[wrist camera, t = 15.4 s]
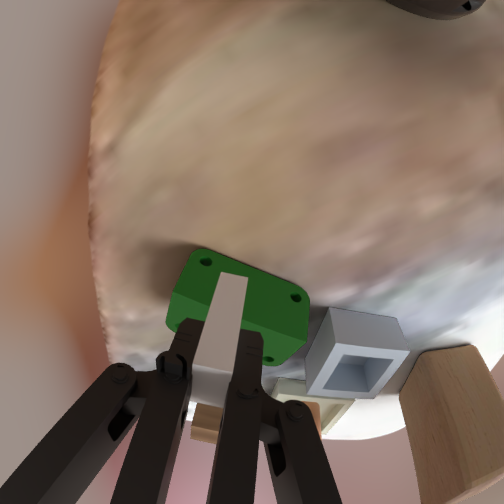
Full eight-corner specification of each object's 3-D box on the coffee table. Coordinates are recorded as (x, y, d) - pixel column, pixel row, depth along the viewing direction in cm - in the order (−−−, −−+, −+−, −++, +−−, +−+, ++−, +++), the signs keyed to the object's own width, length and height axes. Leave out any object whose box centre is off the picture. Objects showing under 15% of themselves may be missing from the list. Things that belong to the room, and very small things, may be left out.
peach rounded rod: (294, 399, 33) (294, 467, 25) (323, 401, 33) (327, 468, 25) (286, 413, 35) (284, 476, 27) (314, 415, 35) (315, 477, 27)
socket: (329, 307, 27) (336, 342, 23) (396, 318, 27) (410, 351, 23) (304, 359, 31) (306, 394, 27) (365, 366, 31) (373, 399, 27)
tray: (278, 377, 33) (278, 393, 31) (352, 385, 33) (355, 400, 31) (261, 414, 38) (260, 428, 35) (324, 421, 38) (325, 434, 36)
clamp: (210, 268, 32) (150, 315, 25) (226, 229, 28) (156, 276, 21) (297, 338, 29) (251, 401, 23) (327, 308, 25) (280, 381, 19)
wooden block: (395, 395, 34) (419, 517, 16) (419, 349, 29) (465, 493, 12) (448, 386, 33) (481, 492, 16) (475, 341, 29) (529, 458, 11)
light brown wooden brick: (205, 372, 34) (191, 425, 27) (236, 379, 34) (227, 433, 27) (202, 389, 36) (190, 438, 29) (231, 395, 36) (223, 445, 29)
